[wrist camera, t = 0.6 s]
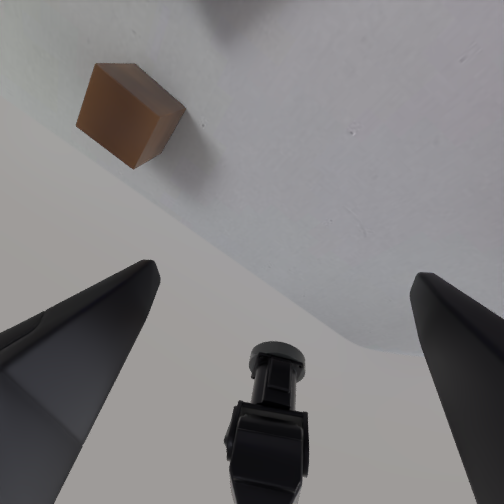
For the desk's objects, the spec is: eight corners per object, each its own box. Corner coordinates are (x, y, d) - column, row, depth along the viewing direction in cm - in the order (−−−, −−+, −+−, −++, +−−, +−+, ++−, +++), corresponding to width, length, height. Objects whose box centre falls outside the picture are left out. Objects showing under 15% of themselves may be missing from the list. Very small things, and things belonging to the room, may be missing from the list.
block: (186, 108, 18) (160, 117, 15) (161, 153, 20) (133, 170, 17) (135, 63, 17) (94, 62, 14) (114, 115, 19) (75, 126, 16)
